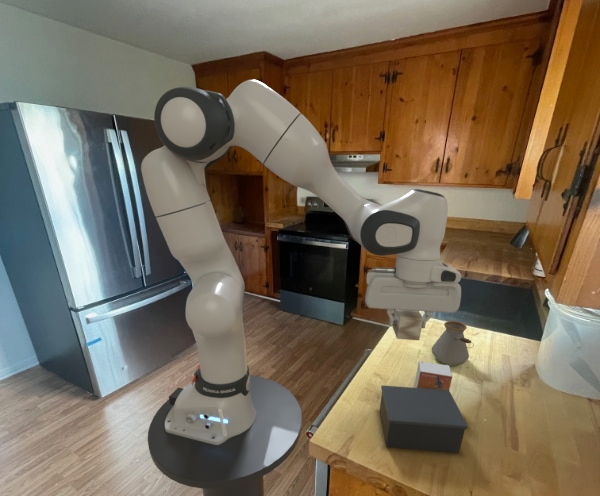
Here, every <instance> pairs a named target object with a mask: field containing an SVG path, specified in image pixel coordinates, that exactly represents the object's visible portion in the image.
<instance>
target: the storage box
mask: <svg viewBox="0 0 600 496" xmlns="http://www.w3.org/2000/svg"><path fill="white" fill-rule="evenodd" d="M380 389H381V397H380V404H379V417H380V421H381V422H380V423H381V427H382V432H383V437H384V438H383V439H384V443H385V447H386V448H392V449H406V450H415V451H416V450H417V451H427V452H441V453H449V454H450V453H451V454H459V453H460V450H461V447H462V442H463V440H464V435H465V432H466V430H468V428H469V425H468V423H467V422H466V420H465V418H464V416H463V414H462V412H461V410H460V408H459V406H458V404H457V402H456V400H455V398H454V396H453V394H452V393H451V391H450V389H449V390H440V389H425V388H414V387H411V386H410V387H409V386H395V385H384V384H383V385H381V386H380Z"/></svg>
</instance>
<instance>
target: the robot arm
mask: <svg viewBox="0 0 600 496" xmlns="http://www.w3.org/2000/svg"><path fill="white" fill-rule="evenodd" d="M153 120H154V127H155V130H156V133H157V136H158V137H159V139H160V141H161V143H162V144H163V146H162V147H159V148H156V149H154V150H152V151H150V152H149V153H147V154H146V155H145V156H144V157H143V159H142V160H141V161H142V162H141V165H140V171H141V174H142V181H143V184H144V188H145V191H146V192H145V193H146V195H147V198H148V201H149V205H150V207H151V209H152V213H153V214H154V217H155V220H156V222H157V224H158V226H159V229H160V230H161V233H162V235H163V238H164V240H165V243H166V244H167V247H168V250H169V251H170V254H171V256H172V257H173V258H174V259H175V260H177V261H178V263H180V265H181V266H182V268H183V269H184V271H185V272H186V274H187V275H188V277H189V278H190V281H191V284H192V289H191V290H190V292H189V293H188V295H187V297H186V302H185V303H186V304H185V320H186V323H187V325H188V327H189V328H190V329H191V331H192V334H193V337H194V340H195V343H196V348H197V354H198V363H199V364H198V365H197V369H196V370H195V371H194V373H193V377H192V378H191V380H190V382H191V383H188V385H186V386H185V387H183V388H182V387H177V388H176V389H175V390H174V391H173V392H172V393H170V395H169V396H168V399H169V401H170V405H174V406H173V407H172V409H171V410H170V412H169V413H168V415H167V417H166V420H165V431H166V432H168V433H171V434H175V435H179V436H183V437H186V438H190V439H194V440H198V441H202V442H206V443H209V444H213V445H220V444H222V443H223V442H225V441H226V440H227V439H229V438H231V437H233V436H236V435H239V434H241V433H243V432H244V431H246V430H247V429H249V428H250V427H251V426H252V424H253V423H254V421H255V418H256V411H255V408H254V406H253V403H252V400H251V396H250V391H249V390H250V375H251V374H250V368H249V365H248V357H247V355H248V354H247V340H246V335H245V327H244V315H243V308H244V307H243V306H244V297H245V291H246V285H245V281H244V277H243V275H242V273H241V270H240V268H239V266H238V264H237V262H236V259H235V257H234V255H233V253H232V251H231V249H230V247H229V246H228V243H227V241H226V238H225V236H224V234H223V231H222V228H221V226H220V223H219V222H220V221H219V220H218V217H217V214H216V212H215V208H214V206H213V203H212V201H211V197H210V195H209V192H208V189H207V186H206V183H205V180H204V179H205V178H204V171H205V170H207V169H208V168H210V167H211V166H212V165H214V164H215V163H217V162H218V161H220V160H222V159H223V158H224V157H225V156H226V155H227V154H228V153H229V152H230V151H231V149H232V147H235V146H236V147H240V148H242V149H244V150H246V152H249V153H250V154H251V155H252V156H253V157H255V159H257V160H258V161H259V162H260V163H261V164H262V165H263V166H265V167H266V168H267V169H268V170H269V171H270V172H272V173H273V174H275V175H276V176H277V177H279V178H280V179H282V180H283V181H285V182H287V183H288V184H290V185H292V186H293V187H296V188H300V189H302V190H305V191H308V192H310V193H312V194H313V195H315V196H316V197H318V198H319V199H320V200H321V201H322V202H324V203H325V204H326V205H327V206H328V207H329V208H330V209H331V210H332V211H333V212H335V213H336V214H337V215H338V216H339V217H340V218H341V219H342V220H343V222H344V225H345V227H346V229H347V232H348V234H349V236H350V237H351V239H352V240H353V241H354V242H356V243H357V244H359V245H360V246H361V247H362V248H363V249H364V250H365V251H367V252H368V253H370V254H372V255H375V256H379V257H384V256H393V255H396V258H395V265H394V267H381V266H375V267H373V268H371V269H369V270H368V271H367V273H366V277H365V282H366V285H367V287H366V290H365V297H364V302H365V305H366V306H367V307H368V309H381V310H385V311H386V313H387V316H388V318H389V322H388V323H389V327H392V328H393V327H396V326H397V318H396V317H394V315H393V314H395V309H396V310H413V311H419V312H424V314H423V315H422V317H423V323H422V328H421V329H426V324H427V322H428V321H429V320H430V319H431V318H433V315H434V313H449V314H454V313H456V312H457V311H459V309H460V306H461V301H462V300H461V299H462V286H461V284H459V283H460V282H461V279H462V274H461V272H460V271H459V270H458V269H456V268H455V267H454V266H452V265H450V264H447V263H444V262H442V261H441V257H442V256H441V255H442V254H441V245H442V243H443V241H444V239H445V234H446V229H447V222H448V210H449V209H448V208H449V207H448V201H447V198H446V197H445V195H444V194H441V193H438V192H435V191H430V190H425V189H421V188H420V189H419V188H412V189H410V190H409V191H408V192H406V193H404V195H402V196H401V197H400V196H399V197H398V198H396V199H395V200H392V201H390V202H386V203H385V204H384V203H383V204H381V203H380V202H377V201H374V200H371V199H367V198H365V197H363V196H361V194H359V193H358V192H357V191H356V189H355V188H353V187H352V186H351V185H350V184H349V183H348V182H347V181H346V180H345V179H344V178H343V177H342V176H341V175H340V174H339V173H338V172H337V170H336V169H335V167H334V165H333V163H332V161H331V158H330V154H329V150H328V145H327V143H326V141H325V140H324V138H323V137H322V135H321V134H320V133H319V131H318V130H317V129H316V128H315V126H314V125H313V124H312V123H311V121H309V119H308V118H307V117H306V116H305V115H304V114H303V113H301V112H300V111H299V110H298V109H297V108H296V107H295V106H294V105H293V104H292V103H290V101H288V100H287V99H286V98H284V96H282V95H280V94H279V93H278V92H276V91H275V90H274V89H272V88H271V87H269V86H268V85H266V84H265V83H263V82H262V81H259V80H257V79H247V80H245V81H243V82H241V83H240V84H238V85H237V86H236V87H235V89H233V90H232V92H231V93H230V95H229V96H228V97H227V98H226V97H225V96H224V95H223V94H222V93H219V92H215V91H211V90H205V89H203V88H202V89H201V88H197V87H192V86H179V87H178V86H177V87H174V88H171V89H169V90H167V91H165V92H164V93H163V94H162V95H161V96H160V97H159V99H158V101H157V102H156V105H155V109H154V116H153Z"/></svg>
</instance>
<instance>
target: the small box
mask: <svg viewBox="0 0 600 496" xmlns="http://www.w3.org/2000/svg"><path fill="white" fill-rule="evenodd" d="M452 380H453V374H452V370H451V367H450V365H446V364H440V363H433V362H427V361H422V360H418V364H417V369H416V374H415V379H414V385H413V388H425V389H440V390H449V391H450V388H451V384H452Z"/></svg>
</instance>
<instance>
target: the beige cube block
mask: <svg viewBox="0 0 600 496" xmlns="http://www.w3.org/2000/svg"><path fill="white" fill-rule="evenodd" d="M393 317H396V318H397V326H396V327H393V326H392V330H393V332H394V335H395V337H396V340H407V341H420V339H421V333H422V329H423V328H422V323H423V315H422V313H421V311H413V310H396V309H394V315H393Z"/></svg>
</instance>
